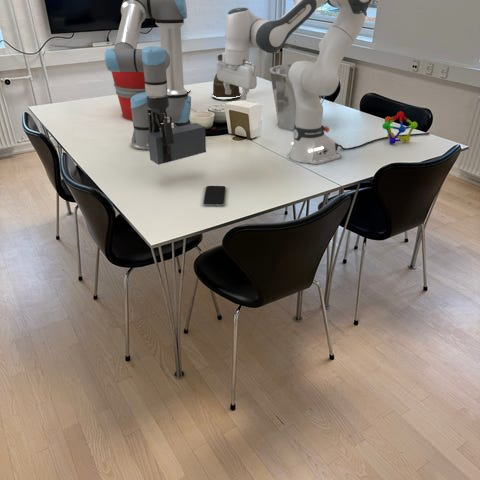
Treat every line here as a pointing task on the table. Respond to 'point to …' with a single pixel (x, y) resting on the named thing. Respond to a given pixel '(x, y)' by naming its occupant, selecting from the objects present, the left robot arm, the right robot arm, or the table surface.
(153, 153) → the box
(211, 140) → the table surface
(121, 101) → the bucket
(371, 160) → the table surface
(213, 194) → the smartphone
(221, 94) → the bell
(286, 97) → the bucket
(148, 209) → the table surface
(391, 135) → the educational toy
